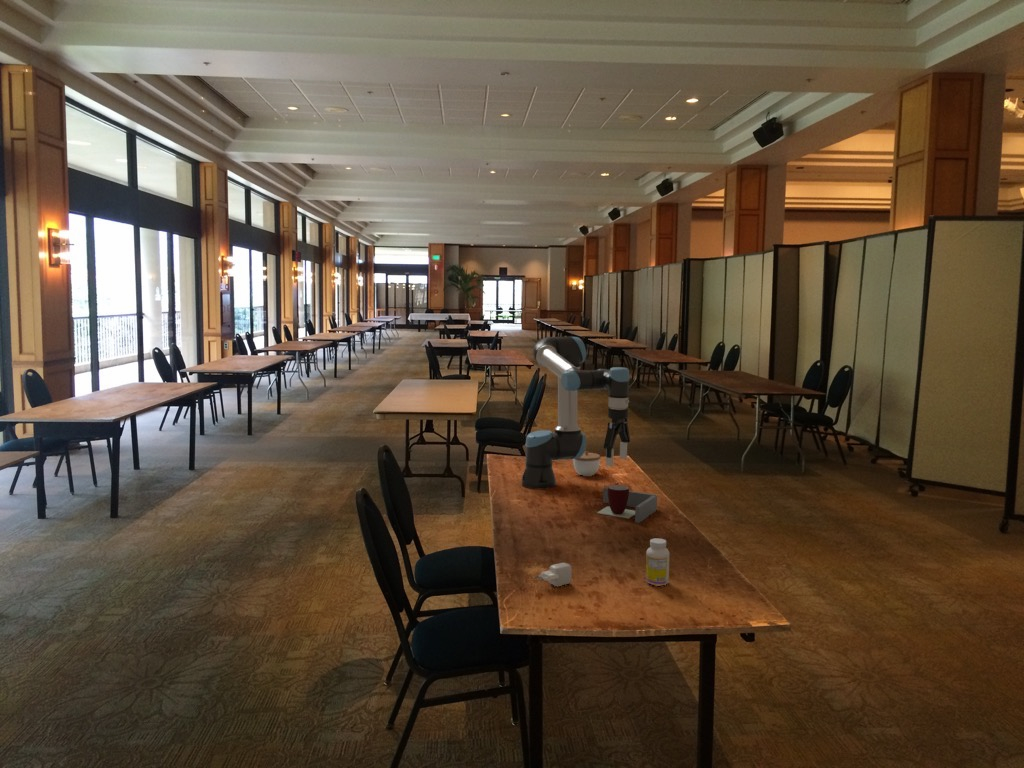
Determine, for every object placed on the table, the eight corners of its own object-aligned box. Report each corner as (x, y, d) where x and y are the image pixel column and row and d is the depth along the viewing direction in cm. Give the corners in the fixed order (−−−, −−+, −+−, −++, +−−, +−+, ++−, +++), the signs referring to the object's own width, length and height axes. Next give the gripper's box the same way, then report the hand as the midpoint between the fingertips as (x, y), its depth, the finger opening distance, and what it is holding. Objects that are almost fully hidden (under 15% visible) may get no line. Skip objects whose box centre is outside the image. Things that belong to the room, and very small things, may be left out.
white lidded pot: (566, 474, 353) (567, 450, 351) (585, 469, 361) (585, 447, 360) (587, 479, 344) (587, 455, 342) (605, 474, 352) (606, 451, 351)
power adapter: (541, 593, 215) (541, 573, 214) (532, 587, 219) (532, 567, 218) (573, 585, 220) (573, 565, 220) (563, 579, 224) (563, 560, 224)
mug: (605, 508, 297) (606, 483, 296) (626, 508, 297) (626, 483, 296) (608, 515, 287) (609, 490, 286) (629, 516, 287) (630, 490, 286)
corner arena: (583, 513, 290) (584, 498, 290) (604, 501, 307) (605, 487, 307) (638, 523, 279) (639, 507, 278) (657, 509, 296) (657, 494, 296)
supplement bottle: (652, 577, 227) (653, 535, 226) (672, 582, 223) (674, 540, 221) (641, 583, 222) (642, 541, 220) (661, 589, 218) (663, 546, 216)
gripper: (614, 413, 278) (612, 470, 281) (639, 404, 299) (637, 456, 302) (595, 411, 282) (594, 467, 284) (621, 402, 303) (619, 454, 306)
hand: (616, 462), depth 293 cm, fingers open, 13 cm apart
